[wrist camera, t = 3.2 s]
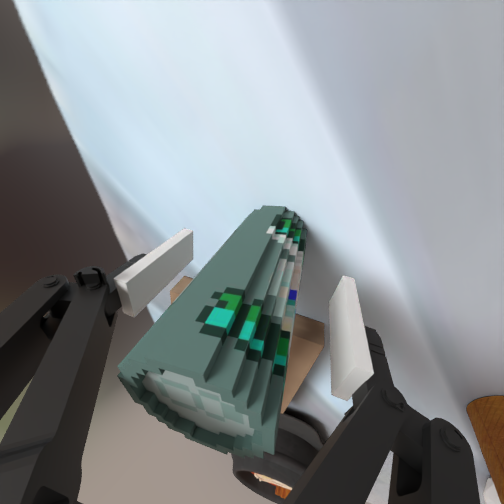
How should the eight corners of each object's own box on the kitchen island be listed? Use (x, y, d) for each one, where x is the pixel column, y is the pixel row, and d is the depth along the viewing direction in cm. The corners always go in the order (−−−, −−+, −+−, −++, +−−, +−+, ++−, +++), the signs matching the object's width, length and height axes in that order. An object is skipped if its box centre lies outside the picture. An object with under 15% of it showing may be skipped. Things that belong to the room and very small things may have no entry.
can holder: (324, 323, 23) (324, 346, 21) (285, 392, 33) (282, 413, 31) (184, 275, 26) (170, 290, 24) (187, 352, 36) (177, 369, 34)
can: (303, 266, 20) (273, 473, 8) (246, 259, 22) (149, 423, 10) (309, 207, 17) (275, 396, 5) (241, 204, 19) (93, 342, 7)
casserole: (323, 469, 45) (323, 531, 38) (243, 439, 50) (230, 489, 43) (342, 417, 32) (347, 495, 25) (232, 384, 37) (212, 442, 31)
